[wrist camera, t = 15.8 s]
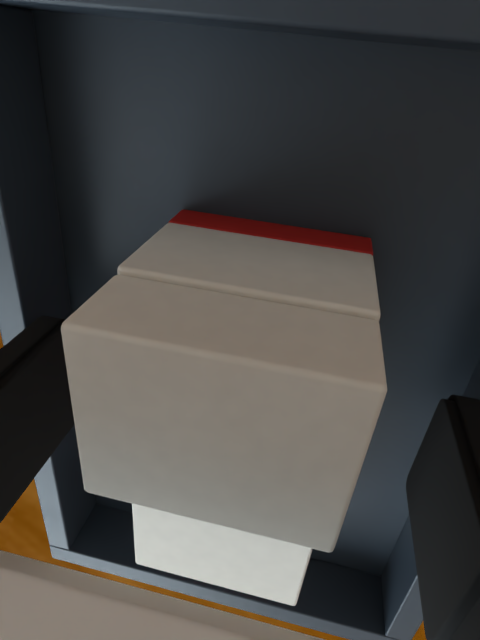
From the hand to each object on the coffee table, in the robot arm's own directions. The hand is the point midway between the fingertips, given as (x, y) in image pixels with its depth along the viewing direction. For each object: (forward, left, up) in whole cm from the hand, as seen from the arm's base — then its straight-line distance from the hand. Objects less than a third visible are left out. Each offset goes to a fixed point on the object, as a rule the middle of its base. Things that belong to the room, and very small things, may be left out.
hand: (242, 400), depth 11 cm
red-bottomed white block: (0, 0, -2) cm, 2 cm away
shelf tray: (0, 0, -2) cm, 2 cm away
